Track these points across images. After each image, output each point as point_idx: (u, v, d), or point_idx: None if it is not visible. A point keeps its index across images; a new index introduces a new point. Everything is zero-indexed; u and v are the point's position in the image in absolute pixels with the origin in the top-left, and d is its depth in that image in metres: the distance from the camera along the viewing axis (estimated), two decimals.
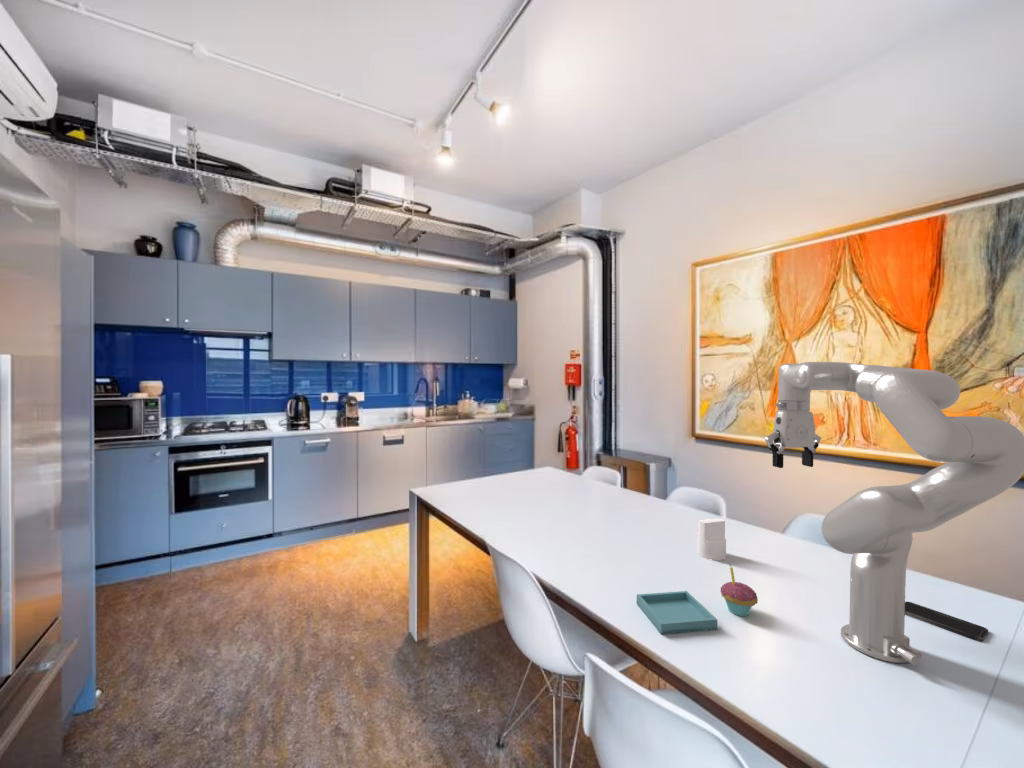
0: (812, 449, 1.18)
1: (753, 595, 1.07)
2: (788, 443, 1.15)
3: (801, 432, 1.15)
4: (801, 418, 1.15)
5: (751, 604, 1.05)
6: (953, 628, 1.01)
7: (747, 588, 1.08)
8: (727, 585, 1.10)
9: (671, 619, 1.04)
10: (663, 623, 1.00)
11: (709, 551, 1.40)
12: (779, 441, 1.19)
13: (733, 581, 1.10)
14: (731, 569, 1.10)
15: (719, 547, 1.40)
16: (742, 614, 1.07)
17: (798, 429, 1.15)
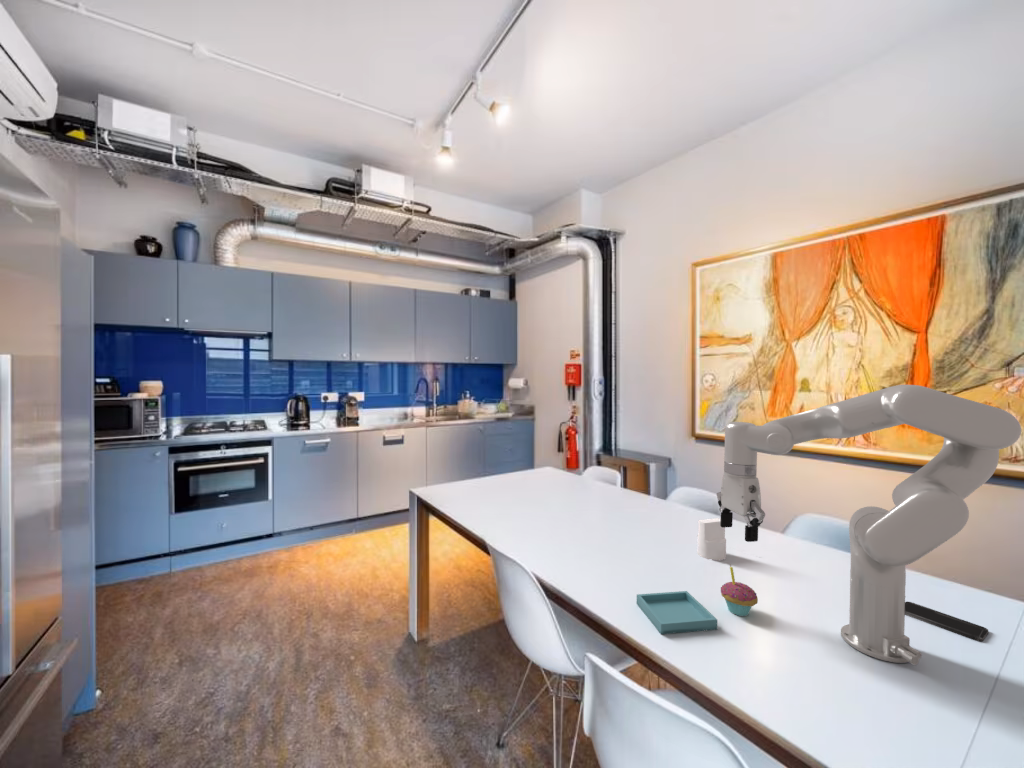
0: None
1: (753, 595, 1.07)
2: None
3: None
4: None
5: (751, 604, 1.05)
6: (953, 628, 1.01)
7: (747, 588, 1.08)
8: (727, 585, 1.10)
9: (671, 619, 1.04)
10: (663, 623, 1.00)
11: (709, 551, 1.40)
12: None
13: (733, 581, 1.10)
14: (731, 569, 1.10)
15: (719, 547, 1.40)
16: (742, 614, 1.07)
17: None
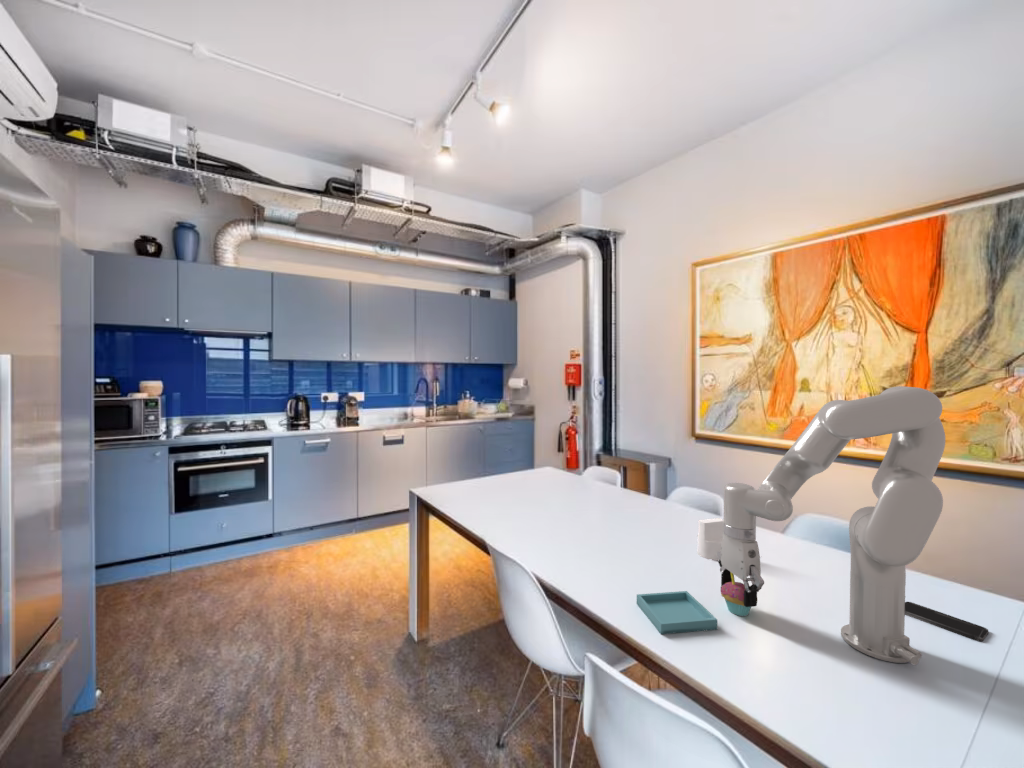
0: None
1: None
2: None
3: None
4: None
5: None
6: (953, 628, 1.01)
7: None
8: (727, 585, 1.10)
9: (671, 619, 1.04)
10: (663, 623, 1.00)
11: (709, 551, 1.40)
12: None
13: (733, 581, 1.10)
14: None
15: (719, 547, 1.40)
16: (742, 614, 1.07)
17: None
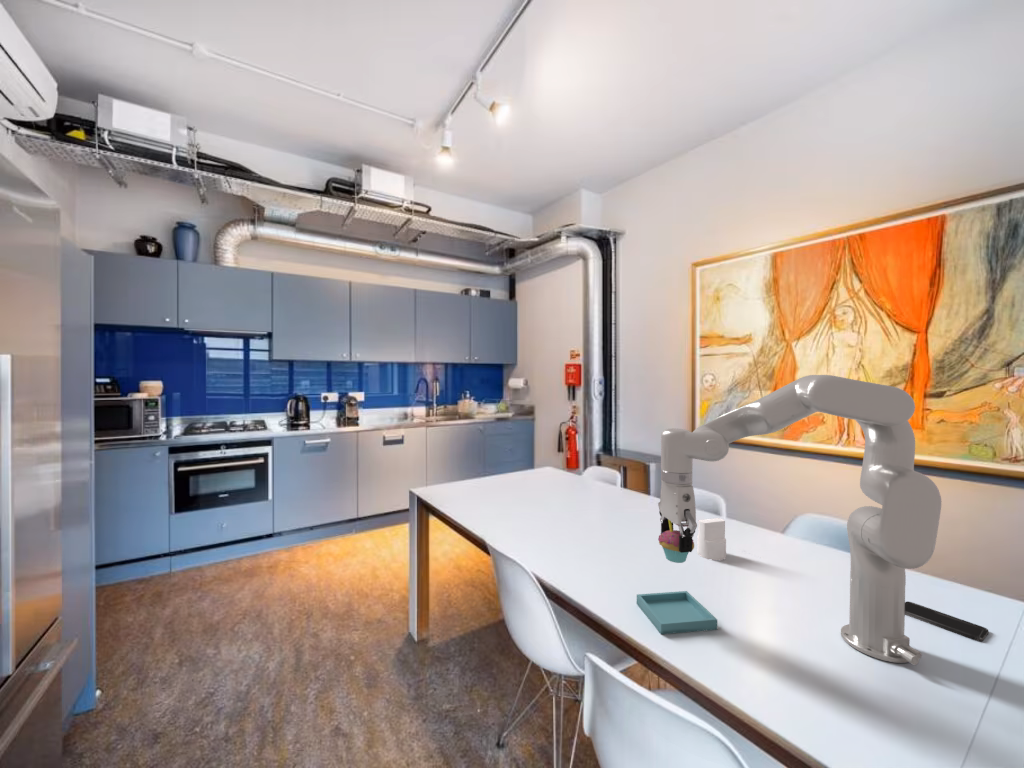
0: None
1: None
2: None
3: None
4: None
5: None
6: (953, 628, 1.01)
7: None
8: (664, 533, 1.08)
9: (671, 619, 1.04)
10: (663, 623, 1.00)
11: (709, 551, 1.40)
12: None
13: (670, 528, 1.07)
14: None
15: (719, 547, 1.40)
16: (678, 561, 1.04)
17: None
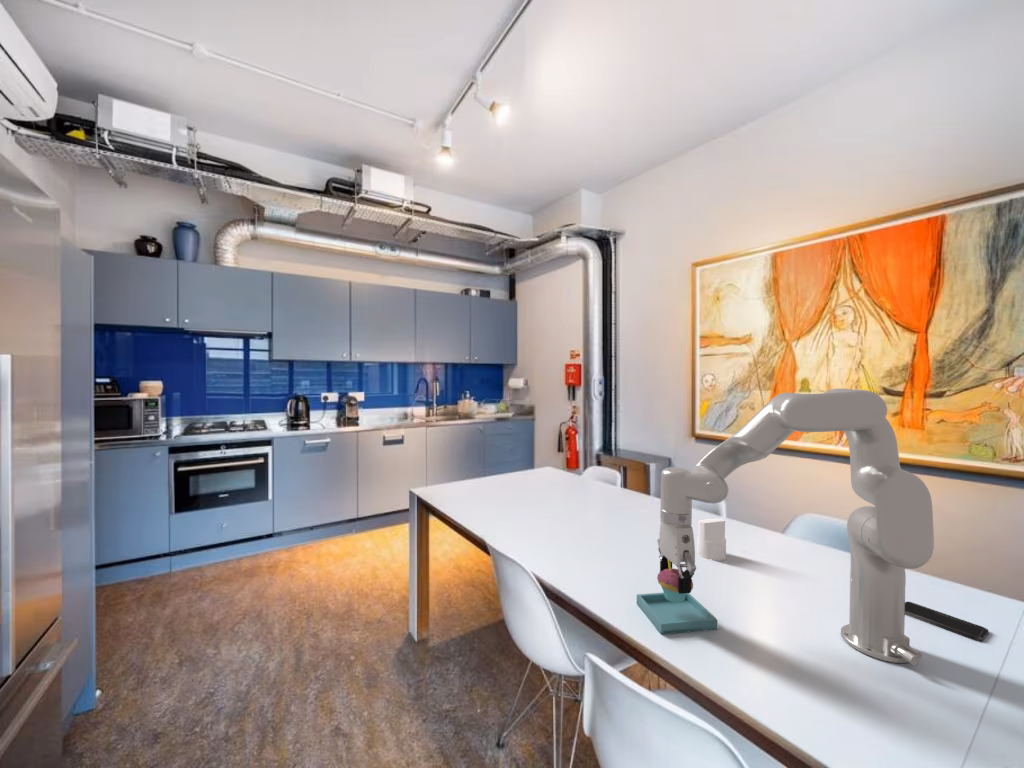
0: None
1: None
2: None
3: None
4: None
5: None
6: (953, 628, 1.01)
7: None
8: (663, 572, 1.08)
9: (671, 619, 1.04)
10: (663, 623, 1.00)
11: (709, 551, 1.40)
12: None
13: (669, 567, 1.07)
14: None
15: (719, 547, 1.40)
16: (677, 601, 1.05)
17: None
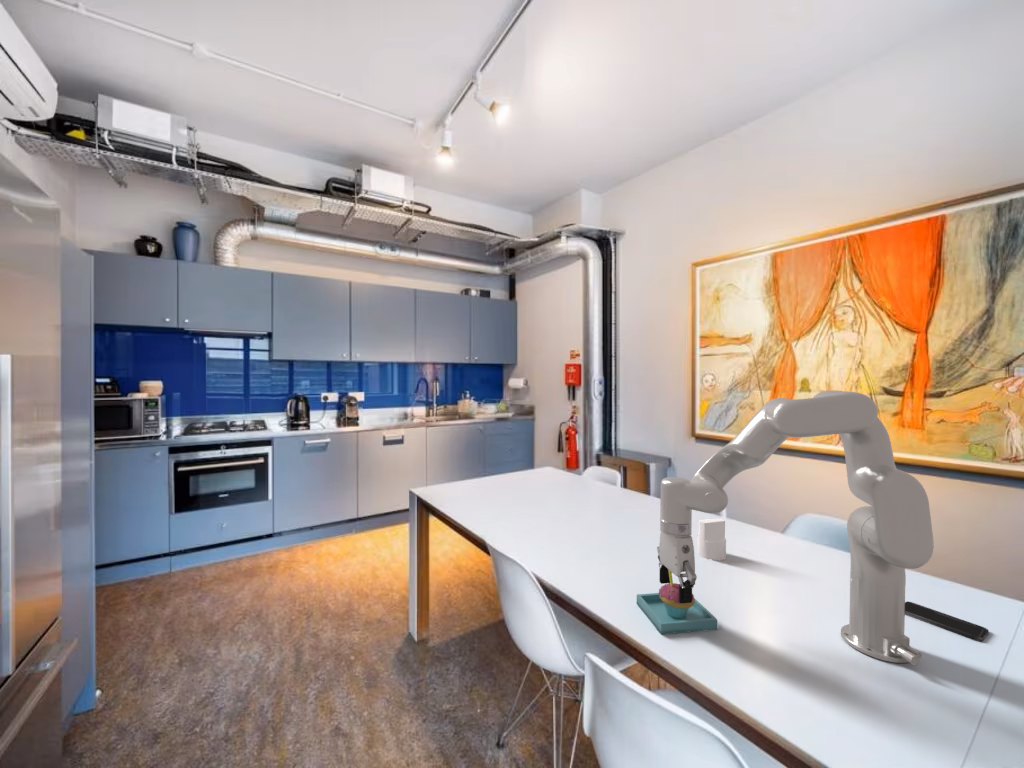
0: None
1: None
2: None
3: None
4: None
5: (687, 606, 1.03)
6: (953, 628, 1.01)
7: None
8: (665, 587, 1.08)
9: (671, 619, 1.04)
10: (663, 623, 1.00)
11: (709, 551, 1.40)
12: None
13: (671, 583, 1.07)
14: (669, 570, 1.07)
15: (719, 547, 1.40)
16: (678, 616, 1.04)
17: None
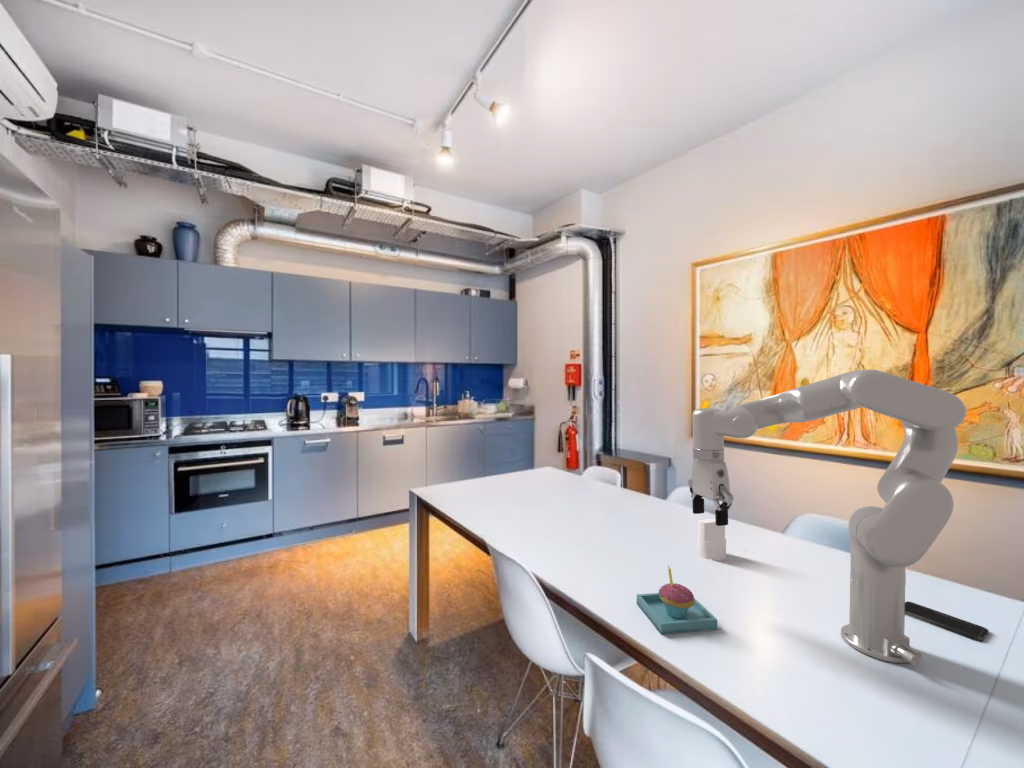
0: None
1: (689, 597, 1.04)
2: None
3: None
4: None
5: (686, 606, 1.03)
6: (953, 628, 1.01)
7: (684, 590, 1.06)
8: (665, 587, 1.08)
9: (671, 619, 1.04)
10: (663, 623, 1.00)
11: (709, 551, 1.40)
12: None
13: (671, 582, 1.07)
14: (669, 570, 1.07)
15: (719, 547, 1.40)
16: (678, 616, 1.04)
17: None
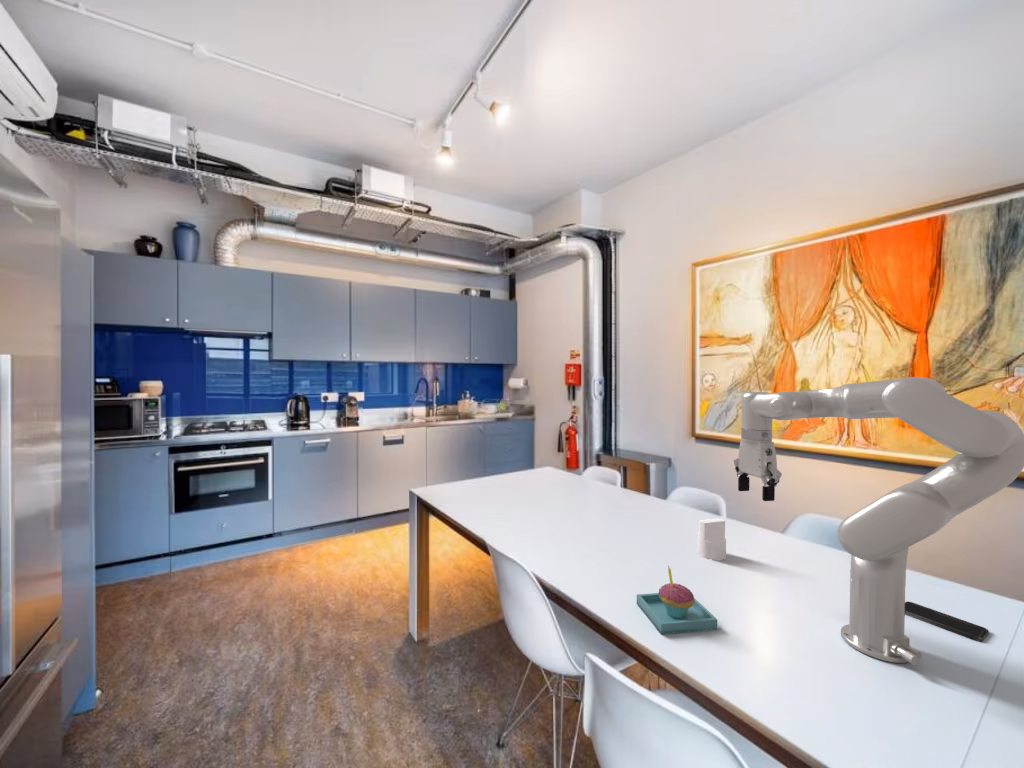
0: None
1: (689, 597, 1.04)
2: None
3: None
4: None
5: (686, 606, 1.03)
6: (953, 628, 1.01)
7: (684, 590, 1.06)
8: (665, 587, 1.08)
9: (671, 619, 1.04)
10: (663, 623, 1.00)
11: (709, 551, 1.40)
12: None
13: (671, 583, 1.07)
14: (669, 570, 1.07)
15: (719, 547, 1.40)
16: (678, 616, 1.04)
17: None
